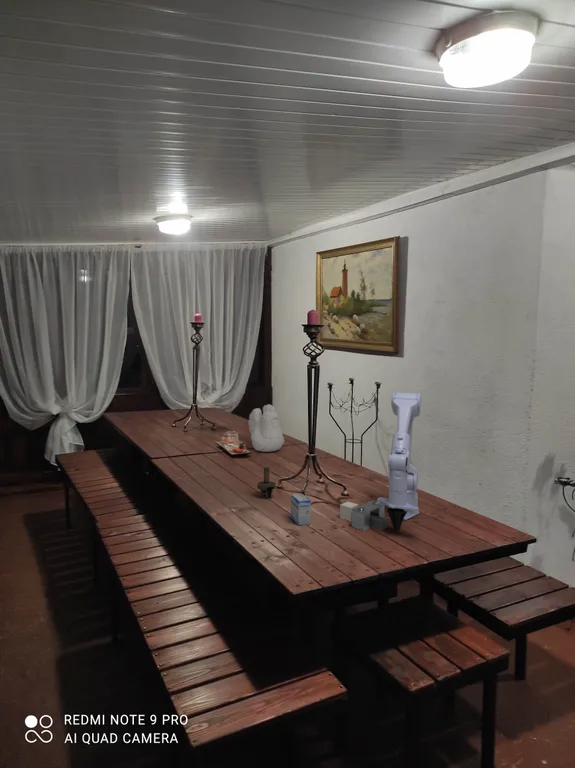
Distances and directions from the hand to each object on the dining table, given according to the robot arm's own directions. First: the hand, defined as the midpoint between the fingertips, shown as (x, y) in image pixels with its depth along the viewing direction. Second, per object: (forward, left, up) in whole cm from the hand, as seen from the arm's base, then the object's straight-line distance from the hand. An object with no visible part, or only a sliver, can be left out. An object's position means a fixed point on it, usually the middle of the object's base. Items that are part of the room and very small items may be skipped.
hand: (396, 529), depth 184 cm
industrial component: (+4, -57, -1) cm, 57 cm away
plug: (0, -13, -1) cm, 13 cm away
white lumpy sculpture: (-50, -112, -1) cm, 122 cm away
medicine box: (+14, -30, -1) cm, 33 cm away
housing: (0, -11, -1) cm, 11 cm away
